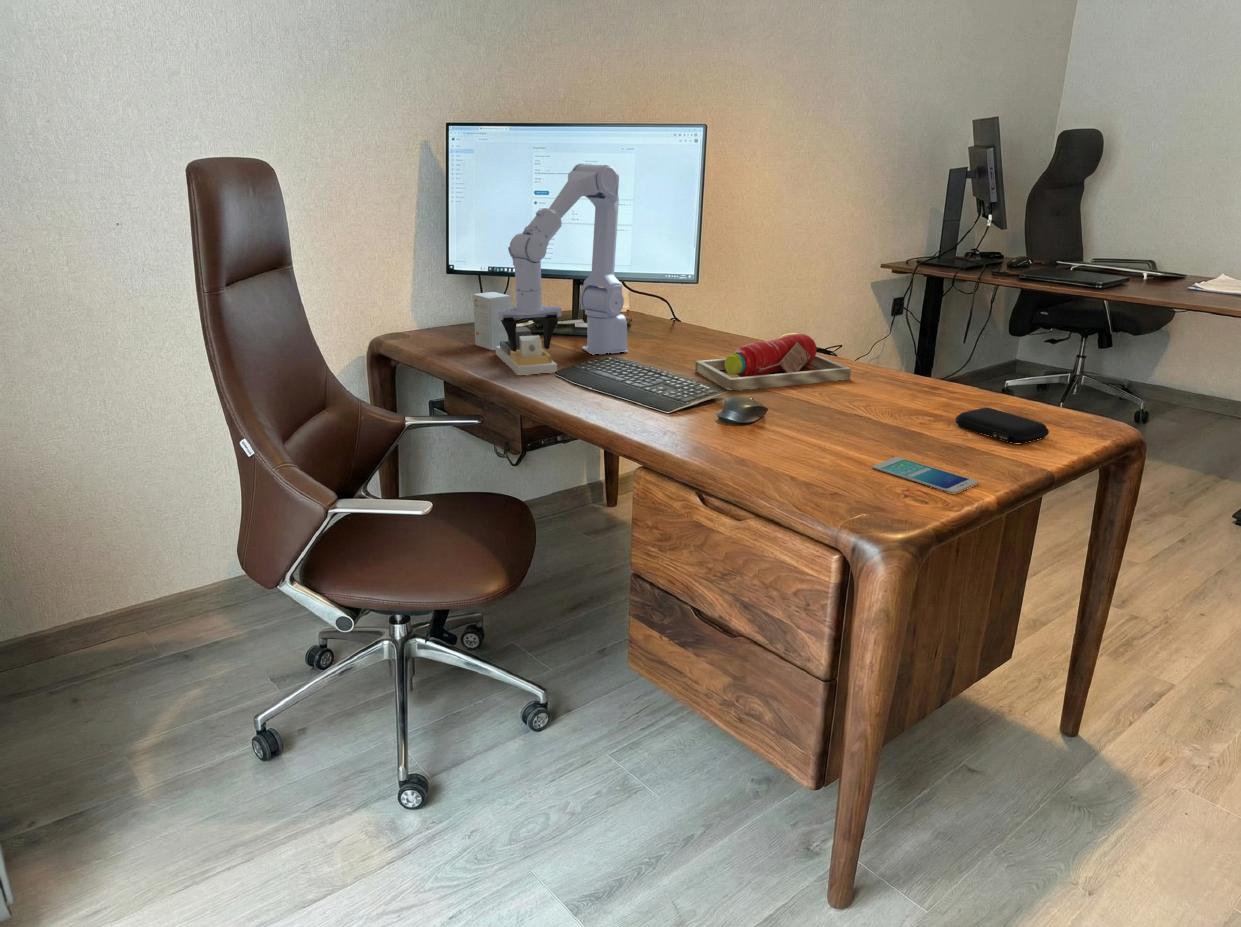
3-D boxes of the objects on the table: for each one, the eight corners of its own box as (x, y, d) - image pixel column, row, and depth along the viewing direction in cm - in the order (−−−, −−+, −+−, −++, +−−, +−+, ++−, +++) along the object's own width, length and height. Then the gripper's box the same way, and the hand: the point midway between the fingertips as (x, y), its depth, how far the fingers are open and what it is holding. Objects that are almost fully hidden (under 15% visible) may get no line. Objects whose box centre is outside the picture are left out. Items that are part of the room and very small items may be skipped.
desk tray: (808, 361, 216) (809, 351, 215) (850, 379, 201) (851, 368, 200) (695, 371, 206) (695, 361, 206) (729, 391, 191) (730, 379, 190)
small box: (513, 347, 229) (511, 295, 224) (491, 350, 225) (489, 298, 221) (496, 341, 235) (493, 291, 230) (474, 345, 231) (472, 293, 226)
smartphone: (897, 456, 152) (980, 481, 142) (896, 460, 153) (979, 486, 142) (870, 466, 148) (954, 492, 137) (870, 471, 148) (953, 497, 137)
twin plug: (526, 347, 220) (525, 326, 218) (533, 353, 214) (532, 332, 212) (508, 348, 218) (507, 328, 217) (514, 354, 213) (514, 333, 211)
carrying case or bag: (945, 428, 169) (1014, 450, 158) (947, 412, 168) (1016, 433, 157) (983, 419, 175) (1052, 440, 163) (985, 404, 174) (1055, 424, 162)
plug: (539, 356, 211) (539, 335, 209) (542, 363, 205) (542, 341, 203) (520, 357, 210) (519, 336, 208) (522, 364, 204) (521, 342, 202)
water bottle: (836, 343, 204) (757, 360, 190) (828, 375, 208) (751, 395, 194) (796, 325, 212) (718, 340, 198) (790, 357, 216) (713, 374, 202)
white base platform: (532, 351, 224) (531, 337, 223) (557, 372, 205) (556, 357, 204) (496, 354, 221) (495, 340, 220) (518, 376, 202) (517, 360, 201)
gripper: (554, 284, 208) (556, 343, 213) (492, 288, 204) (495, 347, 208) (563, 289, 202) (564, 349, 207) (499, 293, 198) (502, 354, 202)
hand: (530, 349), depth 207 cm, fingers open, 7 cm apart
